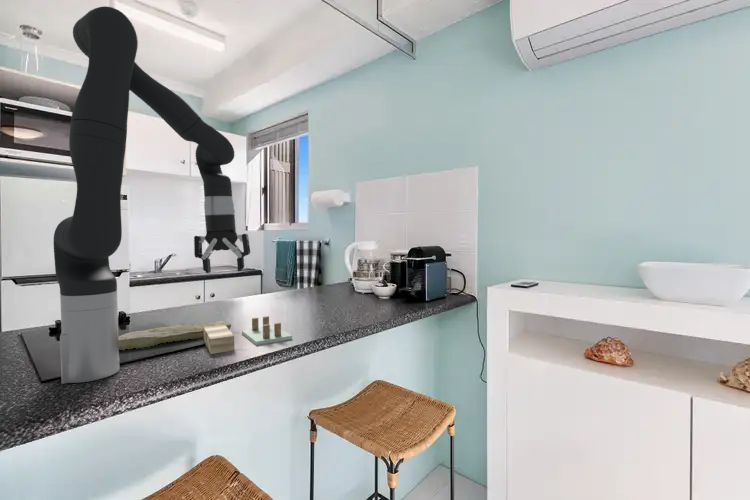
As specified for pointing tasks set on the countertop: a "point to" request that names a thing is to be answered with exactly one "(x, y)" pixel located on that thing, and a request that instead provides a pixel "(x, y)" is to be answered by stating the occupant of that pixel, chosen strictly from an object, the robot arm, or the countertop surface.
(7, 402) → the countertop surface
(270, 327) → the peg stand
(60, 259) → the robot arm
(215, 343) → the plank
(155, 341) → the stone slab
